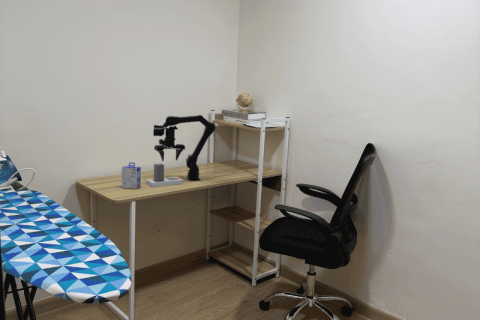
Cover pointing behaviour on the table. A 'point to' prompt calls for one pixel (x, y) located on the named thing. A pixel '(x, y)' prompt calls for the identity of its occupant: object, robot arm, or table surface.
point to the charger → (158, 172)
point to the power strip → (165, 182)
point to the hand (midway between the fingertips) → (169, 160)
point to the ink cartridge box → (131, 176)
